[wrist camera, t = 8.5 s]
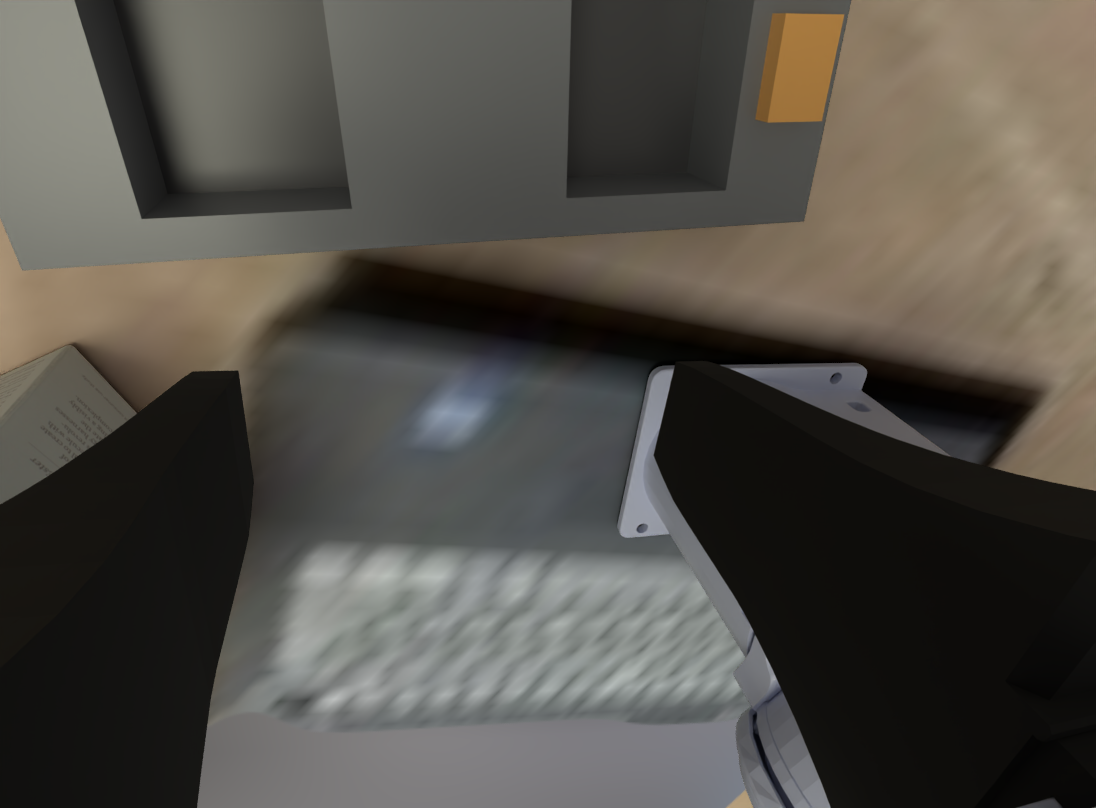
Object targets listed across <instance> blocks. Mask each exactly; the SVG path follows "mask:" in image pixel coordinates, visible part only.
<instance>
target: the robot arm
mask: <svg viewBox="0 0 1096 808" xmlns="http://www.w3.org/2000/svg"><path fill="white" fill-rule="evenodd" d="M835 373H836V374H835ZM833 374H835V375H834V377H832V375H833ZM866 376H867V370H866V369H865V368H864V367H863V366H862V365H860V364H858V363H814V364H746V365H718V364H715V363H711V362H708V361H682V362H676V363H675V366H660V367H657V368H655V369H654V370H653V371H652V372H651V373H650V375H649V378H648V383H647V387H646V392H645V397H644V401H643V406H642V411H641V416H640V420H639V425H638V430H637V434H636V439H635V444H634V449H633V453H632V458H631V463H630V467H629V472H628V477H627V482H626V486H625V491H624V496H623V501H622V505H621V510H620V515H619V519H618V524H617V528H618V530H619V532H620V534H621V536H623V537H626V538H631V537H642V536H652V535H663V534H670V535H671V537H672V538H673V540H674V542H675V543H676V545H677V546H678V548H679V550H680V551H681V553H682V555H683V556H684V558H685V559H686V561H687V563H688V564H689V566H690V568H691V569H692V571H693V573H694V574H695V576H696V577H697V579H698V581H699V582H700V584H701V586H702V587H703V589H704V590H705V592H706V594H707V595H708V597H709V599H710V600H711V602H712V603H713V605H714V607H715V608H716V610H717V612H718V613H719V615H720V617H721V618H722V620H723V621H724V623H725V625H726V626H727V628H728V630H729V631H730V633H731V634H732V636H733V638H734V639H735V641H736V643H737V644H738V646H739V648H740V649H741V651H742V652H743V654H744V656H745V657H746V658H745V660H744V661H743V662H742V664H741V665H740V666H739V667H738V668H737V669H736V670H735V671H734V672H733V676H734V677H735V679H736V681H737V683H738V684H739V686H740V688H741V689H742V691H743V693H744V695H745V696H746V698H747V700H748V702H749V703H750V705H751V707H750V708H748V709H747V710H746V711H745V712H744V713H742V714H741V716H740V718H739V720H738V722H737V726H736V742H737V750H738V754H739V765H740V771H741V775H742V778H743V782H744V785H745V788H746V791H747V793H748V796H749V798H750V801H751V803H752V805H753V807H754V808H1096V491H1093V490H1088V489H1082V488H1077V487H1072V486H1067V485H1062V484H1057V483H1052V482H1048V481H1043V480H1039V479H1034V478H1030V477H1026V476H1021V475H1017V474H1013V473H1009V472H1005V471H1001V470H998V469H994V468H990V467H986V466H982V465H979V464H975V463H971V462H967V461H964V460H960V459H957V458H954V457H951V456H950V455H949V454H947V453H946V452H944V451H943V450H942V449H940V448H939V447H938V446H936V445H935V444H934V443H932V442H931V441H929V440H928V439H927V438H925V437H924V436H923V435H921V434H920V433H919V432H917V431H916V430H914V429H913V428H912V427H910V426H909V425H908V424H906V423H905V422H904V421H902V420H901V419H900V418H898V417H897V416H895V415H894V414H893V413H891V412H890V411H889V410H887V409H886V408H885V407H883V406H882V405H880V404H879V403H878V402H876V401H875V400H874V399H872V398H871V397H870V396H868V395H867V394H865V393H864V392H863V391H861V389H862V387H863V384H864V382H865V379H866ZM831 377H832V378H831ZM830 378H831V379H830ZM670 382H671V383H670ZM253 485H254V480H253V473H252V466H251V459H250V451H249V444H248V437H247V430H246V423H245V415H244V408H243V401H242V394H241V387H240V379H239V372H238V371H198V372H191V373H190V374H188V375H187V376H185V377H184V378H182V379H181V380H180V381H178V382H177V383H176V384H175V385H173V386H172V387H171V388H169V389H168V390H167V391H166V392H164V393H163V394H162V395H160V396H159V397H158V398H157V399H155V400H154V401H153V402H152V403H150V404H149V405H148V406H146V407H145V408H144V409H142V410H141V411H140V412H138V413H137V414H136V415H135V416H133V417H132V418H131V419H129V420H128V421H127V422H125V423H124V424H123V425H121V426H120V427H119V428H117V429H116V430H115V431H113V432H112V433H111V434H109V435H108V436H107V437H105V438H104V439H102V440H101V441H99V442H98V443H96V444H95V445H93V446H92V447H90V448H89V449H87V450H86V451H84V452H83V453H81V454H80V455H78V456H77V457H75V458H74V459H73V460H71V461H70V462H68V463H67V464H65V465H64V466H62V467H61V468H59V469H58V470H56V471H55V472H53V473H52V474H50V475H49V476H47V477H46V478H44V479H42V480H41V481H39V482H37V483H36V484H34V485H33V486H31V487H29V488H28V489H26V490H24V491H22V492H21V493H19V494H17V495H16V496H14V497H12V498H11V499H9V500H7V501H5V502H3V503H2V504H0V808H197V802H198V794H199V785H200V777H201V768H202V761H203V753H204V746H205V738H206V730H207V723H208V715H209V707H210V700H211V695H212V689H213V684H214V679H215V674H216V669H217V665H218V661H219V657H220V653H221V649H222V644H223V640H224V636H225V632H226V628H227V624H228V620H229V616H230V612H231V608H232V604H233V600H234V596H235V592H236V588H237V584H238V579H239V575H240V571H241V567H242V563H243V559H244V554H245V550H246V546H247V541H248V537H249V527H250V518H251V508H252V496H253ZM643 523H644V524H643ZM640 524H643V525H642V526H640V527H638V526H639V525H640Z"/></svg>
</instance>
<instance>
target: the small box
mask: <svg viewBox="0 0 1096 808" xmlns="http://www.w3.org/2000/svg"><path fill="white" fill-rule="evenodd" d="M136 414H137V413H136V412H135V411H134V410H133V409H132V408H131V406H130V405H129V404H128V403H127V402H126V401H125V400H124V399H123V398H122V397H121V396H120V395H119V394H118V393H117V392H116V391H115V390H114V389H113V388H112V387H111V385H110V384H109V383H108V382H107V381H106V380H105V379H104V378H103V377H102V376H101V375H100V374H99V373H98V371H97V370H96V369H95V368H94V367H93V366H92V365H91V364H90V363H89V362H88V361H87V360H86V359H85V358H84V357H83V356H82V355H81V354H80V352H79V351H78V350H77V349H76V348H75V347H73V346H72V345H67V346H64V347H62V348H60V349H58V350H56V351H54V352H52V353H50V354H47V355H45V356H43V357H41V358H38V359H36V360H34V361H32V362H30V363H28V364H26V365H23V366H21V367H19V368H16V369H14V370H12V371H10V372H8V373H6V374H4V375H2V376H0V504H2V503H3V502H5V501H7V500H9V499H11V498H12V497H14V496H16V495H17V494H19V493H21V492H22V491H24V490H26V489H28V488H29V487H31V486H33V485H34V484H36V483H37V482H39V481H41V480H42V479H44V478H46V477H47V476H49V475H50V474H52V473H53V472H55V471H56V470H58V469H59V468H61V467H62V466H64V465H65V464H67V463H68V462H70V461H71V460H73V459H74V458H75V457H77V456H78V455H80V454H81V453H83V452H84V451H86V450H87V449H89V448H90V447H92V446H93V445H95V444H96V443H98V442H99V441H101V440H102V439H104V438H105V437H107V436H108V435H109V434H111V433H112V432H113V431H115V430H116V429H117V428H119V427H120V426H121V425H123V424H124V423H125V422H127V421H128V420H129V419H131V418H132V417H133V416H135V415H136Z"/></svg>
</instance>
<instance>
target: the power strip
mask: <svg viewBox="0 0 1096 808" xmlns="http://www.w3.org/2000/svg"><path fill="white" fill-rule="evenodd" d="M850 4H851V0H0V218H1V221H2V223H3V226H4V228H5V230H6V233H7V235H8V238H9V240H10V242H11V245H12V247H13V249H14V252H15V254H16V257H17V259H18V261H19V264H20V266H21V269H22V270H37V269H53V268H69V267H85V266H101V265H117V264H133V263H149V262H165V261H180V260H196V259H212V258H228V257H244V256H260V255H276V254H292V253H308V252H324V251H340V250H356V249H371V248H387V247H403V246H419V245H435V244H451V243H467V242H483V241H499V240H515V239H531V238H547V237H563V236H578V235H594V234H610V233H626V232H642V231H658V230H674V229H690V228H706V227H722V226H738V225H754V224H769V223H785V222H801V221H804V218H805V214H806V209H807V204H808V200H809V195H810V190H811V186H812V181H813V176H814V172H815V167H816V162H817V158H818V153H819V149H820V144H821V139H822V135H823V130H824V125H825V121H826V116H827V111H828V107H829V102H830V97H831V93H832V88H833V83H834V79H835V74H836V69H837V65H838V60H839V55H840V51H841V46H842V41H843V37H844V32H845V27H846V23H847V18H848V13H849V9H850Z"/></svg>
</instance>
